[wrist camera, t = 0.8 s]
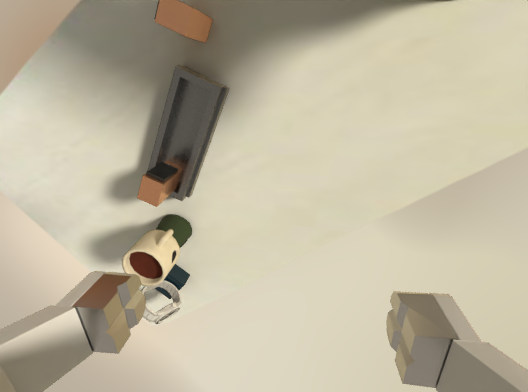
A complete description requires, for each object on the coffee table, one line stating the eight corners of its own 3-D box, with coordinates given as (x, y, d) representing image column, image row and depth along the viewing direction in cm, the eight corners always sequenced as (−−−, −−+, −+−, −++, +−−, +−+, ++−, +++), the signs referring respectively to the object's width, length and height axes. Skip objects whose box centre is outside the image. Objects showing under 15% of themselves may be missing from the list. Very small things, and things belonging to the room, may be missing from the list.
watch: (183, 294, 62) (160, 336, 52) (153, 272, 61) (123, 311, 51) (197, 280, 60) (176, 321, 50) (167, 257, 59) (139, 295, 49)
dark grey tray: (181, 65, 43) (151, 63, 35) (229, 88, 44) (211, 91, 35) (151, 176, 52) (120, 196, 43) (191, 194, 52) (169, 218, 43)
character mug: (180, 254, 58) (148, 301, 46) (150, 235, 57) (110, 277, 45) (206, 218, 54) (179, 258, 42) (174, 196, 53) (137, 232, 41)
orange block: (212, 19, 40) (192, 7, 33) (205, 42, 42) (185, 36, 35) (183, 5, 40) (156, -11, 33) (177, 29, 42) (150, 19, 34)
